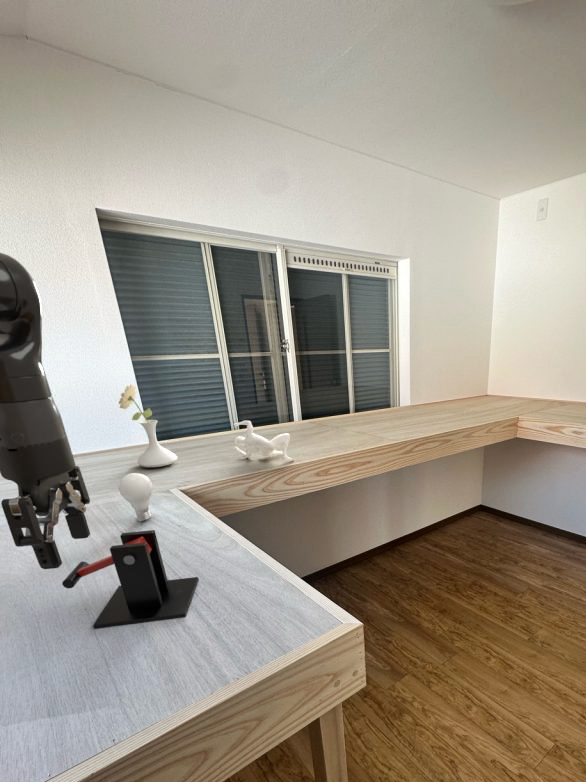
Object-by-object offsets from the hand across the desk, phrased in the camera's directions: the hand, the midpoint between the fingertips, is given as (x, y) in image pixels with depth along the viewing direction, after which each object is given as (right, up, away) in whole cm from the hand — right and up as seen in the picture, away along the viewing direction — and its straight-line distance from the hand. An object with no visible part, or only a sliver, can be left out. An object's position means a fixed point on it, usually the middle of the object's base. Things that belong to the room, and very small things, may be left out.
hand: (68, 551), depth 58 cm
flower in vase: (-28, +20, +73) cm, 81 cm away
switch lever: (+5, -3, +2) cm, 6 cm away
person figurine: (+5, +23, +78) cm, 82 cm away
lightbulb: (-10, +3, +35) cm, 37 cm away
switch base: (+8, -9, +6) cm, 14 cm away
